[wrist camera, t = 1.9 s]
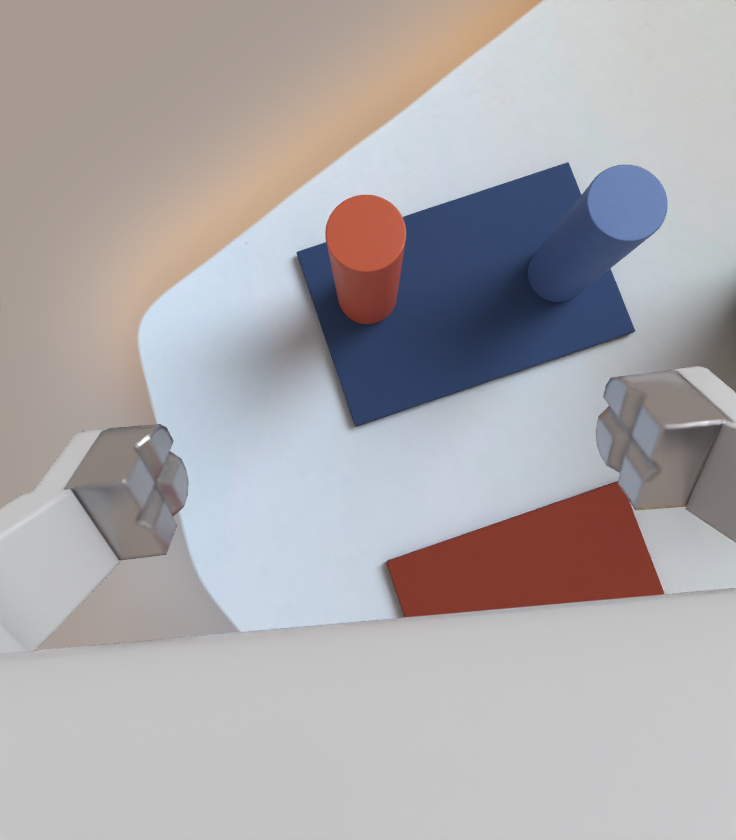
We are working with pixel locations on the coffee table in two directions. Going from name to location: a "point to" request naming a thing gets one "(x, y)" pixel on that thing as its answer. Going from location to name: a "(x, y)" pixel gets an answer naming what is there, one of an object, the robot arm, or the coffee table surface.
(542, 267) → the blue peg
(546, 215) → the blue mat
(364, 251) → the red peg
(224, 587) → the coffee table surface
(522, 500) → the coffee table surface
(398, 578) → the red mat
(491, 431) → the coffee table surface
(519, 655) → the robot arm
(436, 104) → the coffee table surface
